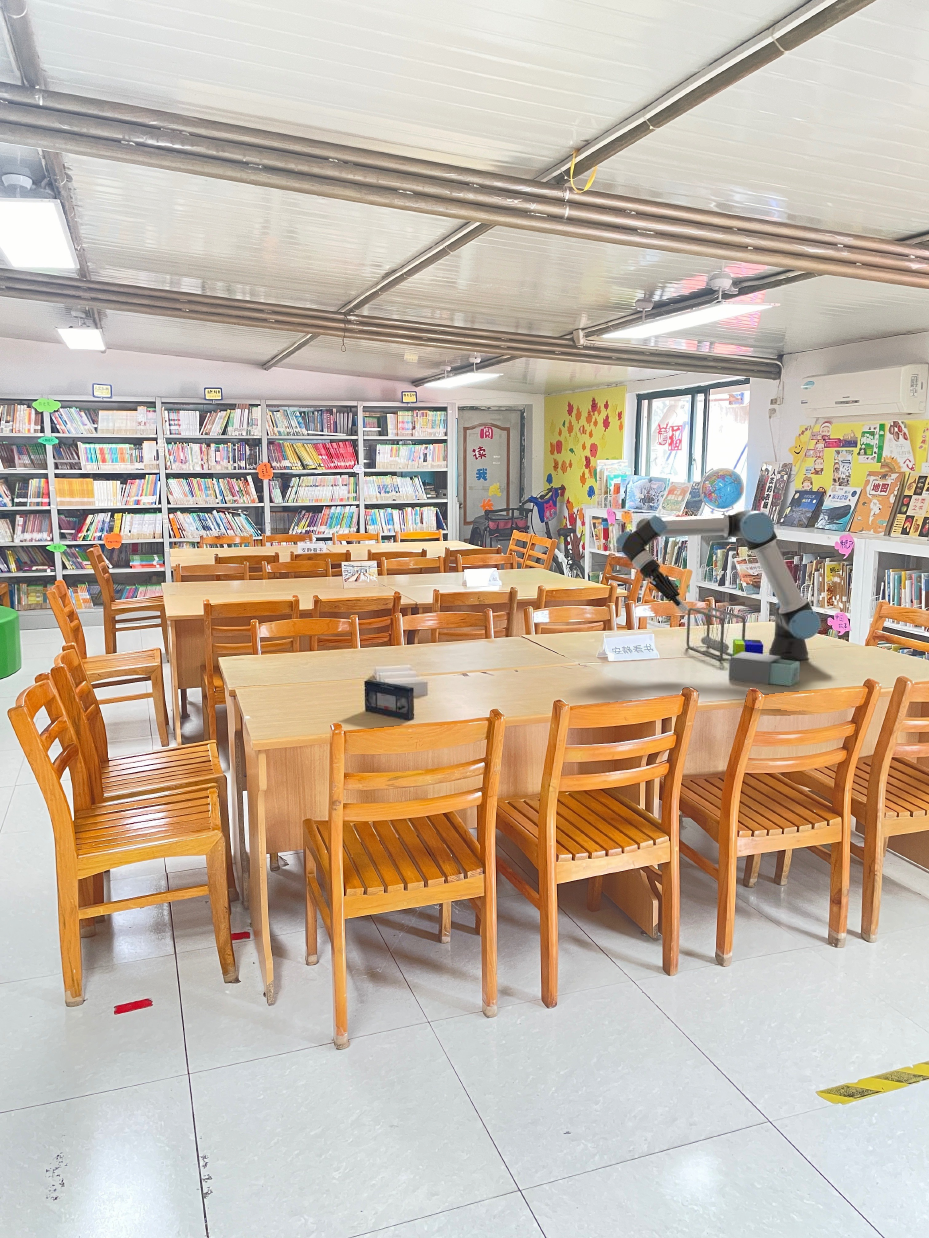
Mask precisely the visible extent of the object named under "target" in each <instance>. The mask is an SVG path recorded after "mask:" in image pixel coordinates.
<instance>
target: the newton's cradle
mask: <svg viewBox="0 0 929 1238" xmlns="http://www.w3.org/2000/svg"><path fill="white" fill-rule="evenodd" d="M688 608H689V610H687V618H686V621H687V622H686V623H687V624H686V647H687V649H689V648H690V649H689V650H691V649H692V651H694V652H696V651H697V653H699V652H700V653H699V654H701V653H702V654H701V655H704V656H706V655H707V656H706V657H708V656H709V658H711V657H712V658H711V659H713V658H715V659H714V660H716V659H717V660H716V661H718V660H720V661H722V660H724V661H725V660H729V659H730V658H731V657H732V656H733V652H732V653H730V652H728V651H729V649H730V646H729V644H728V643H726V640H727V639H724V635H725V620H726V619H741V620H742V630H741V631H742V632H741V639H744V640H746V625H747V624H746V621H747V620H746V618H745V616H743V615H740V614H736V613H733V612H729V611H726V610H724V609H723V610H722V609H719V608H717V607H713V606H709V607H697V608H696V607H695V608H693V607H688ZM691 611H692V612H695V613H698V614H701V618H702V620H704V616H706V617H705V618H706V633H705V630H703V633H704V636H702V637H701V639H700V642H701V644H702V645H703V646H702V645H699V646H697V647H696V648H694V647H695V646H691V645H690V630H691V627H690V626H691ZM713 612H715V613H713ZM703 615H704V616H703ZM712 618H714V621H713V620H712ZM717 620H718V623H719V624H713V623H716V621H717ZM730 622H731V620H729V622H728V626H727V628H729V627H730ZM711 624H712V627H711ZM702 625H703V627H705V625H704V623H703V624H702ZM717 625H718V626H717ZM719 625H720V639H717V637H719V635H718V634H719V633H718V629H719V628H718V627H719ZM714 626H716V634H715V636H716V637H714V634H713V633H711V636H710V631H712V632H714ZM710 628H712V630H710ZM728 632H729V629H727V631H726V633H728ZM727 635H728V634H726V636H725V638H727ZM712 636H713V638H712ZM724 640H725V641H724ZM709 647H710V648H709ZM698 648H709V649H711V648H712V649H711V650H714V649H715V650H714V651H716V650H717V652H719V651H720V652H719V657H718V656H716V655H713V654H710V653H708V652H705V651H703V650H701V649H698ZM724 653H725V654H724ZM723 654H724V655H728V656H729V655H730V656H729V657H728V658H727V657H725V658H724V657H723V656H724V655H723Z"/></svg>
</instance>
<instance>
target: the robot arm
mask: <svg viewBox="0 0 929 1238" xmlns="http://www.w3.org/2000/svg"><path fill="white" fill-rule="evenodd" d="M635 528H636V530H634V531H633V532H632V531H631V530H630V529H627V530H625V531H623V532H622V533H621V534H619V536H618V537H616V539H615V544H616V545H617V547H618V548H619V550H620V551H621V552H622V553H623V554H624V555H625V556H626V558H627V559H628V560H629V561H630V563H631V564H632V565H633V567H634V568H636V569H637V570H638V571H639V573H640V575H642V577H643V578H644V579H648V578H649V579H650V580H649V582H648V583H649V584H650V585H651V586H653V587H654V588H655V590H657V591H658V592H659V594H661V595H662V596H663V597H664V599H666V600H667V601H668V602H669V603H671V602H672V603H673V604H674V605H675V606H676V608H677V609H678V610H679V611H680V613H681V614H682V615H683V614H685V613H686V612H688V610H689V608H690V607H688V606H687V604H686V603H685V602H684V600H682V598H680V595H681V593H680V592H679V590H677V588H676V586H675V585H674V584H673V582H672V581H671V580H670V578H669V575H667V574H665V575H664V574H663V572H661V571H660V568H661V565H660V563H658V561H657V560H656V559H654V557H653V555H652V554H651V553H650V552H649V551H648V550H647V549H646V547H647V546H648V545H650V544H651V543H652V542H653V541H655V540H656V539H657V538H663V537H664V538H665V537H691V536H692V537H694V536H720V535H721V536H722V535H723V536H724V538H739V539H742V540H743V542H744V545H745V547H747V550H748V551H749V552H752V553H754V555H755V557H756V559H757V561H758V563H759V565H760V567H761V569H762V571H763V573H764V575H765V577H766V579H767V582H768V583H769V586H770V587H771V589H772V592H773V594H774V596H775V597H776V600H777V602H776V605H775V620H774V622H775V623H774V636H773V641H772V643H771V646H770V648H769V649H768V655H774V656H781V660H789V661H805V660H807V659H808V658H809V651H808V648H807V643H806V640H808V639H811V638H813V637H814V636H816V635H817V633H818V632H819V631H820V629H821V625H822V622H821V618H820V616H819V614H818V613H817V612H816V611H814V609H813V607H812V605H811V604H810V601H809V599H808V598H805V597H803V596H802V594H801V592H800V590H799V589H798V585H797V584H796V582H795V580H794V577H793V576H792V574H791V571H790V569H789V568H788V565H787V563H786V561H785V560H784V557H783V555H782V553H781V551H780V550H779V547H778V545H777V540H778V536H777V533H776V531H775V524H774V521H773V519H772V518H771V516H770V515H768V514H767V513H766V512H763V511H761V510H753V509H747V510H742V511H741V510H739V511H735V512H725V513H724V514H722V515H707V516H682V517H681V516H680V517H660V515H658V514H653V516H651V517H644V518H641V519H640V520H639V521H637V523H636V525H635Z"/></svg>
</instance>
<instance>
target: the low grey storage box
mask: <svg viewBox="0 0 929 1238" xmlns="http://www.w3.org/2000/svg"><path fill="white" fill-rule="evenodd" d="M730 658H731V661H730V678H729V680H732V679H734V680H733V681H739V680H740V681H741V682H747V683H753V684H754V683H755V684H760V685H766V686H767V685H769V684H770V683H769V675H770V663H772V662H774V661H776V660H778V659H781V656H774V655H769V654H764V653H763V654H757V653H749V652H741V653H739V654H737V655H734V656H730ZM781 660H782V659H781Z"/></svg>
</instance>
